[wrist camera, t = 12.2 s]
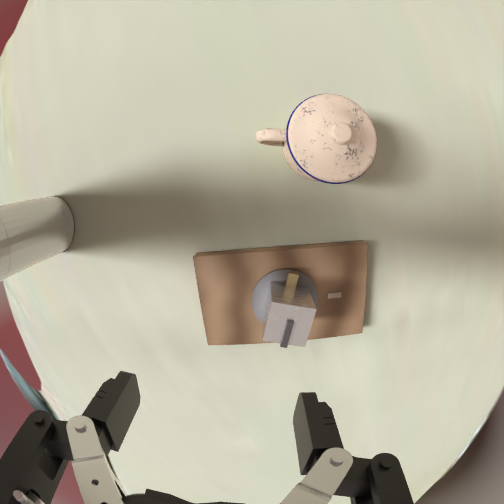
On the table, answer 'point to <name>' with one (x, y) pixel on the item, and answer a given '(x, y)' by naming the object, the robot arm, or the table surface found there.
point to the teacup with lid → (326, 139)
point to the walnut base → (275, 270)
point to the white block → (288, 313)
